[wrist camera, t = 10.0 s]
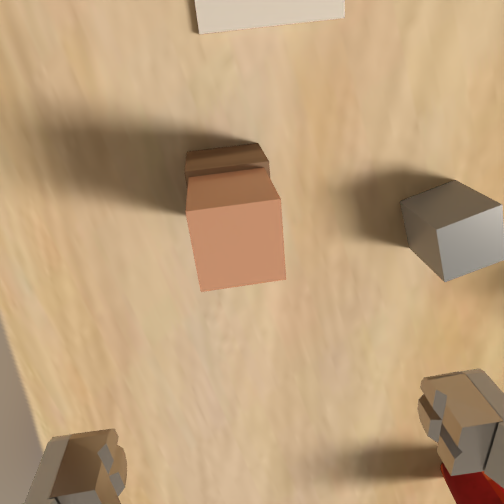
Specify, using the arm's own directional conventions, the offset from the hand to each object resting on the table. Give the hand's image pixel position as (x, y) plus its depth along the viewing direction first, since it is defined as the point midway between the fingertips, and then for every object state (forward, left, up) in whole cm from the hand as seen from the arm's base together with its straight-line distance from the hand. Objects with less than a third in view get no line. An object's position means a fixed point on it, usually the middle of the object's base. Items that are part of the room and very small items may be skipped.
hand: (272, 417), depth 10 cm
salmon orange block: (0, 0, -16) cm, 16 cm away
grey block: (+5, +16, -21) cm, 27 cm away
